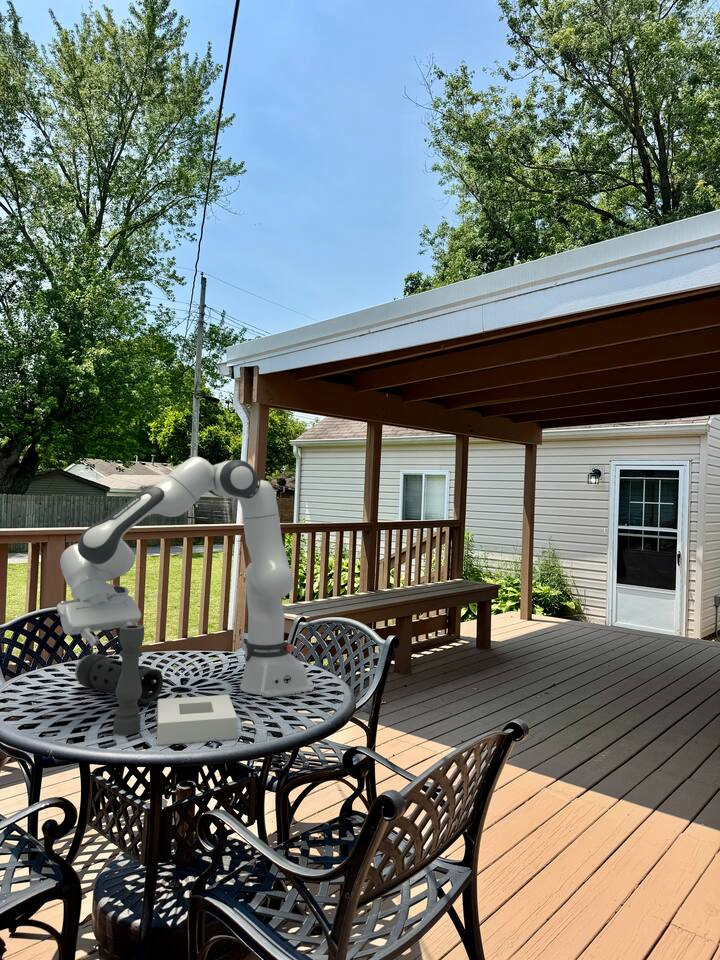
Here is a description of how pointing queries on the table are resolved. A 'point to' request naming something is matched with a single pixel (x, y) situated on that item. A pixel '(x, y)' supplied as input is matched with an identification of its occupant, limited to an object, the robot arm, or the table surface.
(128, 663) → the candle holder
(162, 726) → the socket block
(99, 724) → the table surface
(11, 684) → the table surface
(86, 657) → the muzzle brake
